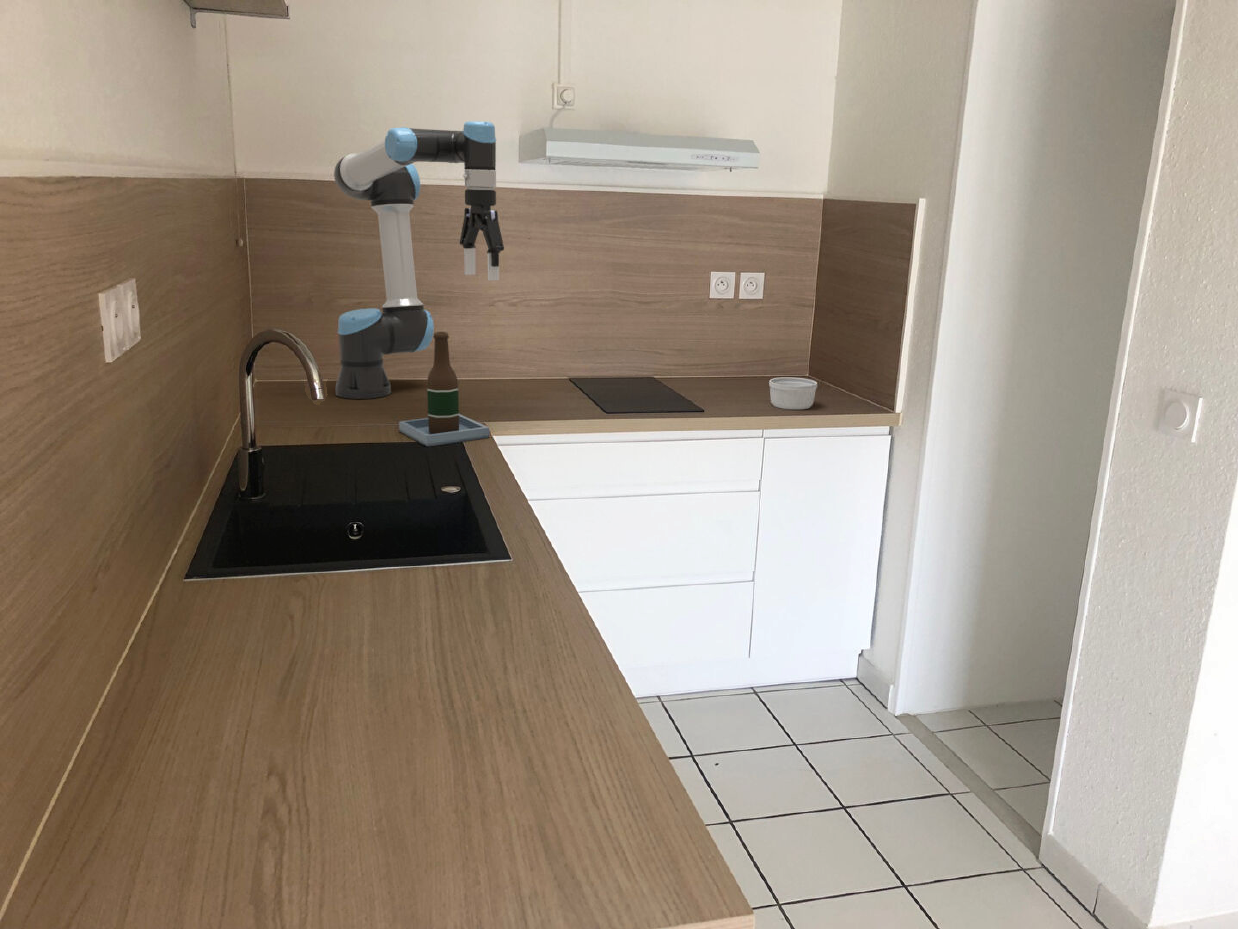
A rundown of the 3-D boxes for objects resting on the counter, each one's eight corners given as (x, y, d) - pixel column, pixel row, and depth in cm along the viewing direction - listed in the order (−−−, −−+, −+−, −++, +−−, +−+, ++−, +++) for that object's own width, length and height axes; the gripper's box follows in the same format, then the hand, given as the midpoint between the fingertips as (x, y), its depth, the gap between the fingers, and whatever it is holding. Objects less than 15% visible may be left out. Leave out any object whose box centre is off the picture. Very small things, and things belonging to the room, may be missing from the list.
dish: (399, 431, 237) (399, 421, 236) (459, 423, 246) (459, 413, 245) (427, 446, 224) (426, 436, 224) (489, 437, 233) (489, 427, 232)
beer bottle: (453, 437, 230) (450, 335, 224) (422, 434, 232) (418, 334, 225) (465, 429, 238) (462, 331, 231) (434, 427, 239) (431, 329, 232)
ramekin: (769, 399, 281) (770, 375, 279) (815, 402, 279) (817, 378, 277) (766, 409, 269) (768, 384, 267) (815, 412, 266) (817, 387, 264)
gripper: (445, 186, 245) (447, 272, 251) (488, 190, 225) (489, 283, 231) (472, 187, 249) (474, 271, 255) (517, 190, 229) (518, 281, 235)
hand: (481, 277), depth 243 cm, fingers open, 13 cm apart
